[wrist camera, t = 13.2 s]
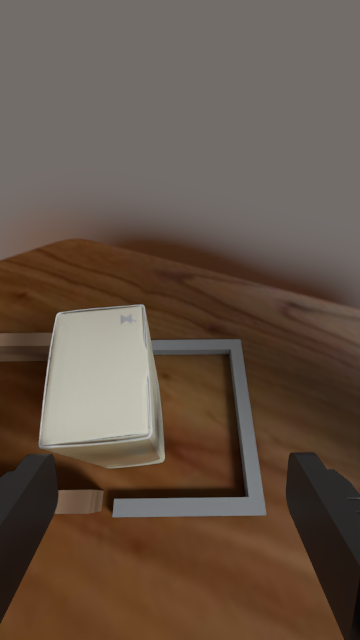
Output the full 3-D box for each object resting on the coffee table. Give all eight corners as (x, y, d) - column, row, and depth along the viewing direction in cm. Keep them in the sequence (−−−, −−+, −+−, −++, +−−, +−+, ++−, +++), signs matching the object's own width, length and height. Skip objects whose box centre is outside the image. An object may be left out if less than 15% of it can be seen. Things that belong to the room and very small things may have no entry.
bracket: (238, 344, 26) (240, 339, 25) (262, 514, 19) (266, 515, 18) (131, 345, 26) (129, 340, 25) (115, 516, 19) (112, 517, 18)
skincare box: (109, 388, 24) (54, 304, 13) (160, 383, 24) (145, 297, 13) (106, 474, 20) (30, 452, 10) (166, 467, 20) (153, 437, 10)
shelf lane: (120, 348, 26) (111, 325, 22) (101, 511, 19) (84, 514, 16) (-32, 349, 25) (-64, 327, 22) (-105, 513, 19) (-167, 517, 15)
